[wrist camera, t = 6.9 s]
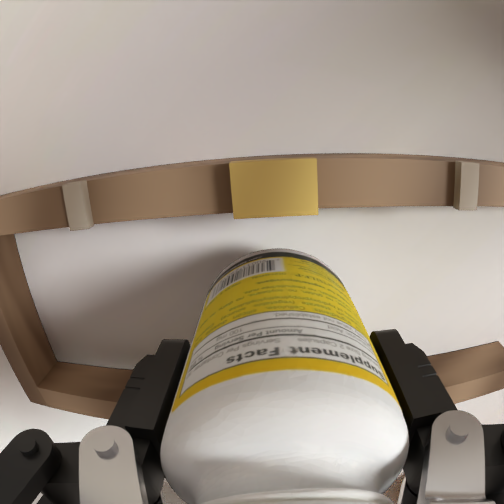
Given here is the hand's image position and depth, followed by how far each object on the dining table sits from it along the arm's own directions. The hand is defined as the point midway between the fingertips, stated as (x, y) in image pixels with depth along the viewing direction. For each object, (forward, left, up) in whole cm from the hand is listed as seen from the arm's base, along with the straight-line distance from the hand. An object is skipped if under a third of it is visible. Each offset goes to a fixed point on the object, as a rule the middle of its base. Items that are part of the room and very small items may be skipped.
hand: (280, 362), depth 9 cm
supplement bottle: (0, 0, -3) cm, 3 cm away
